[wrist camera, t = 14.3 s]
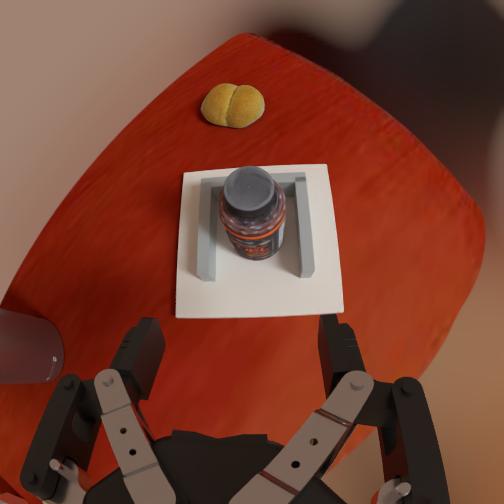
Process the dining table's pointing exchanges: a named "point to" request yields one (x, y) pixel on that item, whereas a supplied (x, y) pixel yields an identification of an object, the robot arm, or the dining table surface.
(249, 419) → the dining table surface
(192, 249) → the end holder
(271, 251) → the supplement bottle
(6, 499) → the french fries container
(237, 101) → the bread roll
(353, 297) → the dining table surface
